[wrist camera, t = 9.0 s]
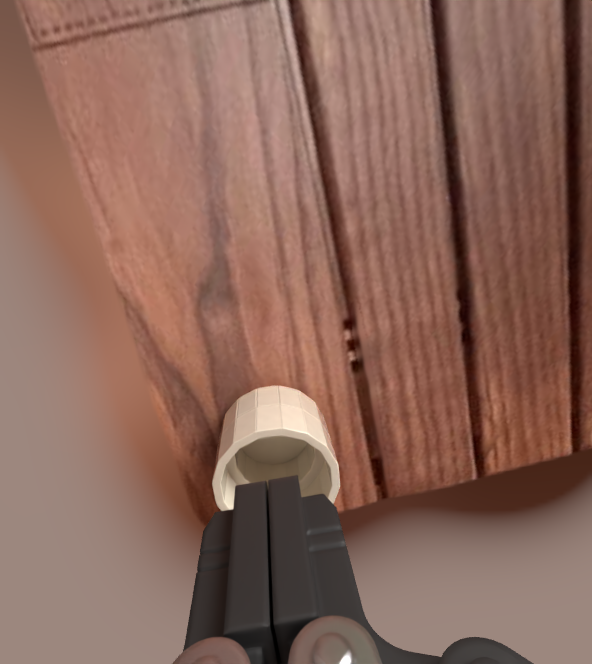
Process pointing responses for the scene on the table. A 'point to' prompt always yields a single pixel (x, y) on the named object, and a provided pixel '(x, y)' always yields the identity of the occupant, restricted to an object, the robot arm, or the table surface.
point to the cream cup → (274, 445)
